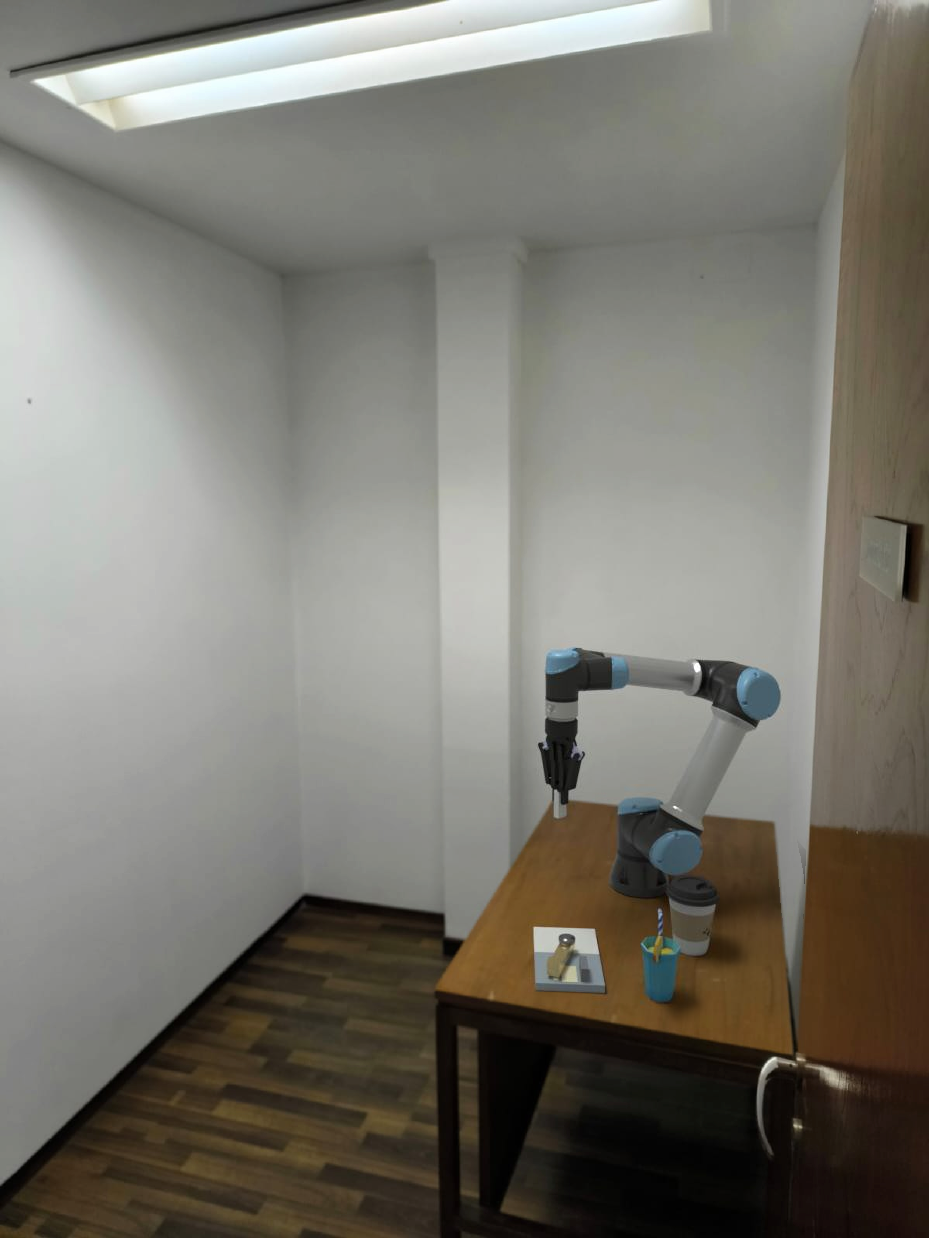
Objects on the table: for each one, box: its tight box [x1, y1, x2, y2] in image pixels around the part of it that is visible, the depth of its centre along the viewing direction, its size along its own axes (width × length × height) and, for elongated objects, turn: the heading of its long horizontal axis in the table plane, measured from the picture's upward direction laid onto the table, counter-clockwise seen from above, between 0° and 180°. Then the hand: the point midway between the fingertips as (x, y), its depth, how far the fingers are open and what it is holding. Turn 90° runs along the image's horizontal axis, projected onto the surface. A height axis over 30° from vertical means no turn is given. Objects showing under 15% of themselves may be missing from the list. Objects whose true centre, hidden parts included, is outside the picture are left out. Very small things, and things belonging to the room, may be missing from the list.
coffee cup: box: [665, 874, 720, 957], centre depth 181 cm, size 11×11×15 cm
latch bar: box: [547, 934, 575, 977], centre depth 172 cm, size 13×4×3 cm, turn 158°
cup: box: [640, 908, 681, 1003], centre depth 163 cm, size 14×8×15 cm, turn 168°
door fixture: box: [533, 926, 606, 994], centre depth 176 cm, size 14×23×4 cm, turn 176°
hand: (560, 816), depth 189 cm, fingers closed
